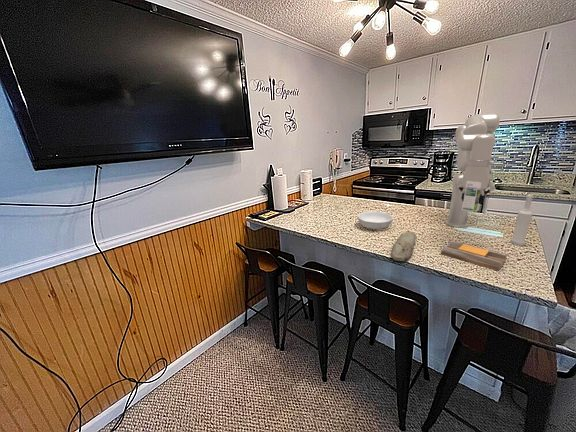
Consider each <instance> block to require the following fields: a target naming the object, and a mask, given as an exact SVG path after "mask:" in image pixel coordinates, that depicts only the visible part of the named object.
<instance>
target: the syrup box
mask: <svg viewBox="0 0 576 432" xmlns="http://www.w3.org/2000/svg"><path fill="white" fill-rule="evenodd" d="M480 195H481V182H473V181H467V183H466V189H465V195H464V201H463V206H462V211H469V212H471V213H477V212H478V211H479V210H480V206H481V204H479V203H478V201H479V196H480ZM469 212H468V213H469Z"/></svg>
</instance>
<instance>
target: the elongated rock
mask: <svg viewBox="0 0 576 432" xmlns="http://www.w3.org/2000/svg"><path fill="white" fill-rule="evenodd" d="M416 240H417V237H416V234H415V233H414V232H413V231H405V232H403V233H401V234H400V235H399V237H398V238H397V239H396V241H395V242H394V243H393V244H392V246H391V247H392V248H391V258H392V259H393V260H394V261H396V262H405V261H408V260H409V258H410V257H411V256H412V255H413V252H414V249H415V245H416Z"/></svg>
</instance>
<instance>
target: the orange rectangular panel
mask: <svg viewBox="0 0 576 432" xmlns="http://www.w3.org/2000/svg"><path fill="white" fill-rule="evenodd" d="M462 244H463V245H462V246H461V247H460V248H458V250H460V251H464V252H468V253H471V254H475V255H479V256H482V257H485V256H486V255H487V254H488V253H489V251H490V250H489V249H485V248H481V247H478V246H477V247H476V246H474V247H473V245H470V246H469V244H466V245H465V244H464V243H462Z"/></svg>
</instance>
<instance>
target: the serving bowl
mask: <svg viewBox="0 0 576 432" xmlns="http://www.w3.org/2000/svg"><path fill="white" fill-rule="evenodd" d="M393 219H394V217H393V215H391V214H390V213H387V212H384V211H383V212H382V211H375V210H374V211H373V210H372V211H364V212H361V213H359V214H358V215H357V220H358V222H359V224H360V225H361V226H363V227H364V228H367V229H371V230H383V229H386V228H388V227H389V226H391V224H392V222H393Z"/></svg>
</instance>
